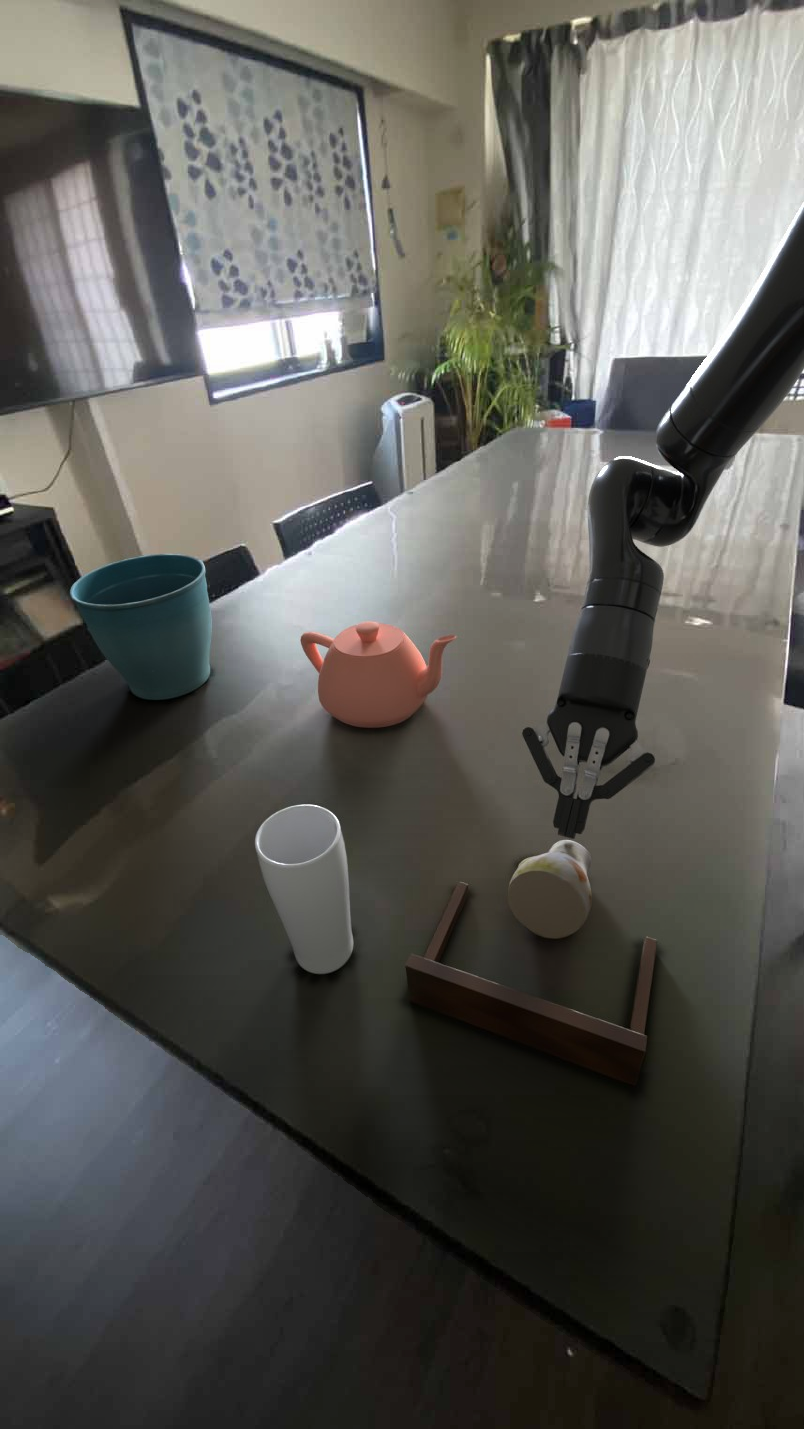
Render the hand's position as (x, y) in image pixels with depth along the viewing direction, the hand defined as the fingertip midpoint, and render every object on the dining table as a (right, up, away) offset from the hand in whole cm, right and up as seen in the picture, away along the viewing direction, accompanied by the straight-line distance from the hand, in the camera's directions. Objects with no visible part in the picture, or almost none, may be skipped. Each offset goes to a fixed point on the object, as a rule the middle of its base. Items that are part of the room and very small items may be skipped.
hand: (566, 836), depth 61 cm
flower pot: (-51, +17, +38) cm, 66 cm away
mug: (-1, -6, 0) cm, 6 cm away
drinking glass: (-23, -10, -3) cm, 25 cm away
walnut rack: (-4, -10, -6) cm, 13 cm away
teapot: (-18, +13, +29) cm, 36 cm away
